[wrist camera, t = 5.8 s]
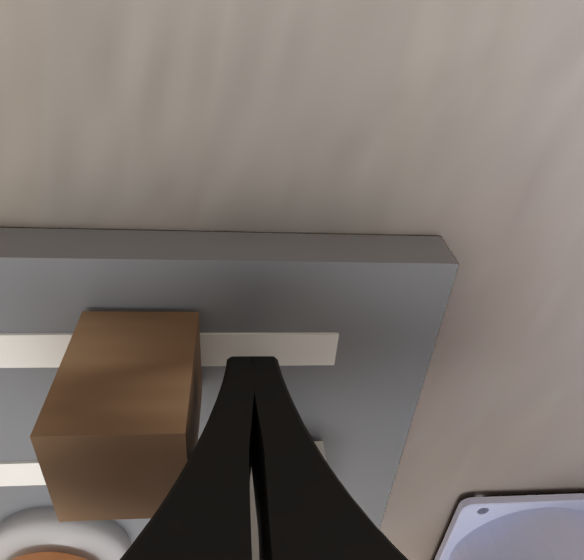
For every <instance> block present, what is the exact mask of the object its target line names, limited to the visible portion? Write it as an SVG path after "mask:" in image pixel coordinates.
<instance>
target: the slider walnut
mask: <svg viewBox="0 0 584 560" xmlns="http://www.w3.org/2000/svg"><path fill="white" fill-rule="evenodd" d="M201 400H202V372H201V350H200V327H199V312H136V311H82V313H81V316H80V318H79V320H78V323H77V325H76V328H75V330H74V332H73V335H72V337H71V340H70V342H69V344H68V347H67V349H66V352H65V354H64V356H63V359H62V361H61V363H60V366H59V368H58V371H57V373H56V375H55V378H54V380H53V383H52V385H51V387H50V390H49V392H48V394H47V397H46V399H45V402H44V404H43V406H42V409H41V411H40V414H39V416H38V418H37V421H36V423H35V426H34V428H33V430H32V433H31V435H30V439H31V442H32V445H33V448H34V451H35V454H36V457H37V460H38V462H39V465H40V468H41V471H42V474H43V477H44V480H45V483H46V486H47V489H48V492H49V495H50V498H51V500H52V503H53V506H54V509H55V512H56V515H57V518H58V521H59V522H71V521H96V520H122V519H147V518H152V517H153V515H154V514H155V512H156V511H157V509H158V508H159V507H160V505H161V504H162V502H163V501H164V499H165V497H166V496H167V494H168V493H169V491H170V490H171V488H172V487H173V485H174V483H175V482H176V480H177V479H178V477H179V475H180V473H181V472H182V470H183V468H184V467H185V465H186V463H187V461H188V460H189V458H190V456H191V454H192V452H193V450H194V448H195V446H196V444H197V442H198V435H199V423H200V412H201Z"/></svg>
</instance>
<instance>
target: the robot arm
mask: <svg viewBox="0 0 584 560" xmlns="http://www.w3.org/2000/svg"><path fill="white" fill-rule="evenodd" d="M251 469H252V478H253V487H254V497H255V506H256V515H257V525H258V539H259V560H408V559H407V558H406V557H405V556H404V555H403V554H402V553H401V552H400V551H399V550H398V549H397V548H396V547H395V546H394V545H393V544H392V543H391V542H390V541H389V540H388V539H387V537H386V536H385V535H384V534H383V533H382V532H381V531H380V530H379V529H378V528H377V527H376V526H375V524H374V523H373V522H372V521H371V520H370V518H369V517H368V516H367V515H366V513H365V512H364V511H363V510H362V509H361V507H360V506H359V505H358V504H357V503H356V501H355V500H354V499H353V498H352V497H351V495H350V494H349V493H348V491H347V490H346V489H345V487H344V486H343V485H342V483H341V482H340V481H339V479H338V478H337V476H336V475H335V473H334V472H333V471H332V469H331V468H330V466H329V465H328V463H327V462H326V460H325V459H324V457H323V455H322V454H321V452H320V451H319V449H318V447H317V446H316V444H315V442H314V441H313V439H312V437H311V435H310V434H309V432H308V430H307V428H306V426H305V425H304V423H303V421H302V419H301V417H300V415H299V413H298V411H297V409H296V407H295V405H294V403H293V400H292V398H291V396H290V394H289V391H288V389H287V386H286V384H285V381H284V379H283V376H282V373H281V370H280V367H279V363H278V359H276V358H275V357H274V356H231V357H230V358H229V359H227V363H226V369H225V374H224V378H223V381H222V385H221V388H220V391H219V394H218V397H217V399H216V402H215V404H214V407H213V409H212V412H211V414H210V417H209V419H208V421H207V424H206V426H205V428H204V430H203V432H202V434H201V436H200V438H199V440H198V442H197V444H196V446H195V448H194V450H193V452H192V454H191V456H190V458H189V460H188V461H187V463H186V465H185V467H184V468H183V470H182V472H181V473H180V475H179V477H178V479H177V480H176V482H175V483H174V485H173V487H172V488H171V490H170V491H169V493H168V494H167V496H166V497H165V499H164V501H163V502H162V504H161V505H160V507H159V508H158V509H157V511H156V512H155V514H154V515H153V517H152V518H151V519H150V521H149V522H148V523H147V525H146V526H145V527H144V529H143V530H142V531H141V533H140V534H139V535H138V537H137V538H136V539H135V541H134V542H133V543H132V545H131V546H130V547H129V549H128V550H127V551H126V552H125V554H124V555H123V556H122V557H121V558H120V560H252V543H251V513H250V475H251ZM434 560H584V493H572V494H546V495H519V496H492V497H470V498H466V499H464V500H462V501H461V502H460V503H459V505H458V507H457V509H456V511H455V514H454V516H453V518H452V521H451V523H450V525H449V527H448V530H447V532H446V534H445V537H444V539H443V541H442V543H441V546H440V548H439V550H438V553H437V555H436V557H435V559H434Z"/></svg>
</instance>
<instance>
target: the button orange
mask: <svg viewBox="0 0 584 560" xmlns="http://www.w3.org/2000/svg"><path fill="white" fill-rule="evenodd" d="M12 560H87V559H85V558H82V557H79V556H76V555H72V554H67V553H60V552H37V553H30V554H26V555H22V556H19V557H16V558H14V559H12Z"/></svg>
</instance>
